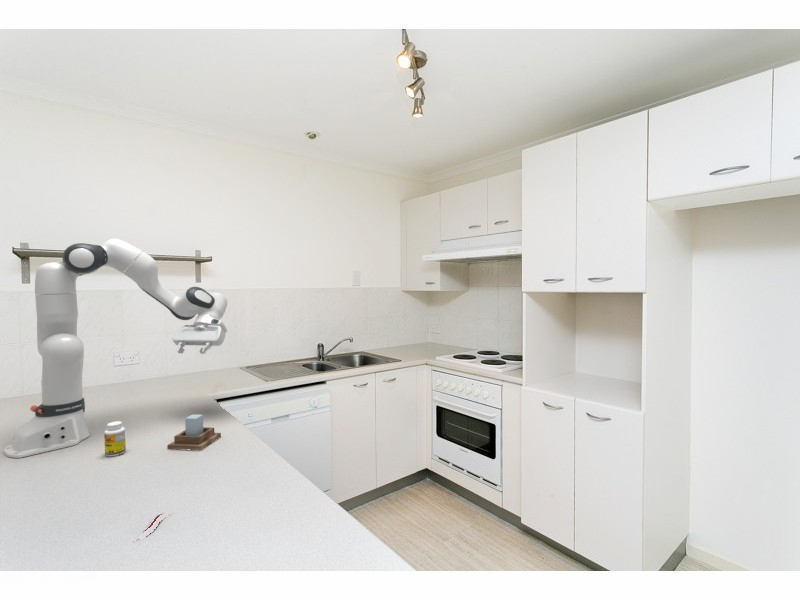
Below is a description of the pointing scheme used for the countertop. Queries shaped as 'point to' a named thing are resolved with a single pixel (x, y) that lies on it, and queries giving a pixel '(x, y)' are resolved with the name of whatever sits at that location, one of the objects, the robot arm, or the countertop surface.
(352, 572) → the countertop surface
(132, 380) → the countertop surface
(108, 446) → the supplement bottle
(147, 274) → the robot arm
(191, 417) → the block
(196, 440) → the board
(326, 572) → the countertop surface
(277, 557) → the countertop surface
